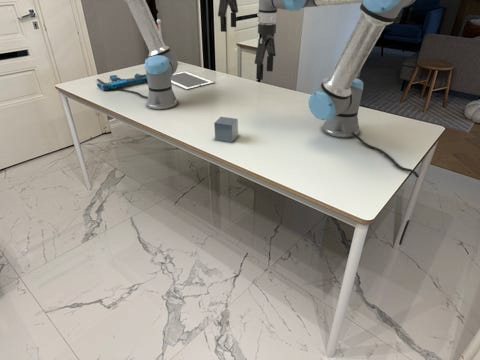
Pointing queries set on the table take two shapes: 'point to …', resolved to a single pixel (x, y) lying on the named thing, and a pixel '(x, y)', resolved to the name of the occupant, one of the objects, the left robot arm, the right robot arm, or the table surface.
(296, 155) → the table surface
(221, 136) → the grey cube
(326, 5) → the right robot arm
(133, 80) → the submachine gun
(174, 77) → the tablet
